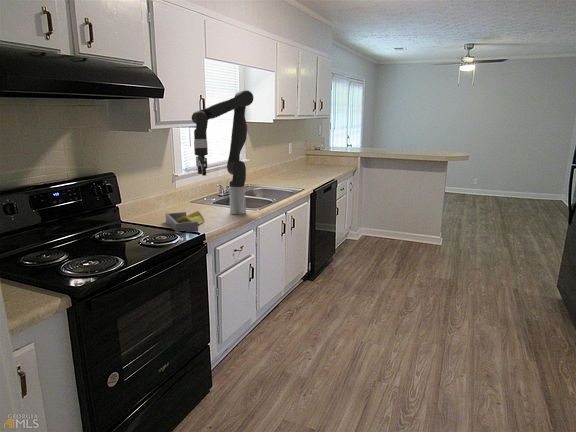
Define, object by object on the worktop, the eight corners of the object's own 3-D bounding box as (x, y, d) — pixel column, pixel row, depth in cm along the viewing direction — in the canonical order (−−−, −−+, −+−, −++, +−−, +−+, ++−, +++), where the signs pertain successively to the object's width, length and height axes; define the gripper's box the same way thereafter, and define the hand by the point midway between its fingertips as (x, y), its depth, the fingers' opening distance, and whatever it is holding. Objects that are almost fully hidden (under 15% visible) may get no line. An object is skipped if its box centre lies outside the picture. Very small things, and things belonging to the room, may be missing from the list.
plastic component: (185, 216, 240) (200, 209, 238) (191, 227, 240) (205, 221, 238) (170, 221, 220) (185, 214, 218) (176, 234, 221) (191, 227, 219)
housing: (185, 220, 240) (185, 211, 239) (198, 231, 216) (197, 222, 215) (165, 222, 235) (165, 213, 234) (176, 233, 211) (175, 224, 210)
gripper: (210, 147, 234) (212, 175, 238) (203, 146, 247) (204, 173, 250) (198, 147, 231) (199, 176, 235) (191, 146, 243) (192, 173, 247)
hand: (202, 174), depth 242 cm, fingers open, 8 cm apart
